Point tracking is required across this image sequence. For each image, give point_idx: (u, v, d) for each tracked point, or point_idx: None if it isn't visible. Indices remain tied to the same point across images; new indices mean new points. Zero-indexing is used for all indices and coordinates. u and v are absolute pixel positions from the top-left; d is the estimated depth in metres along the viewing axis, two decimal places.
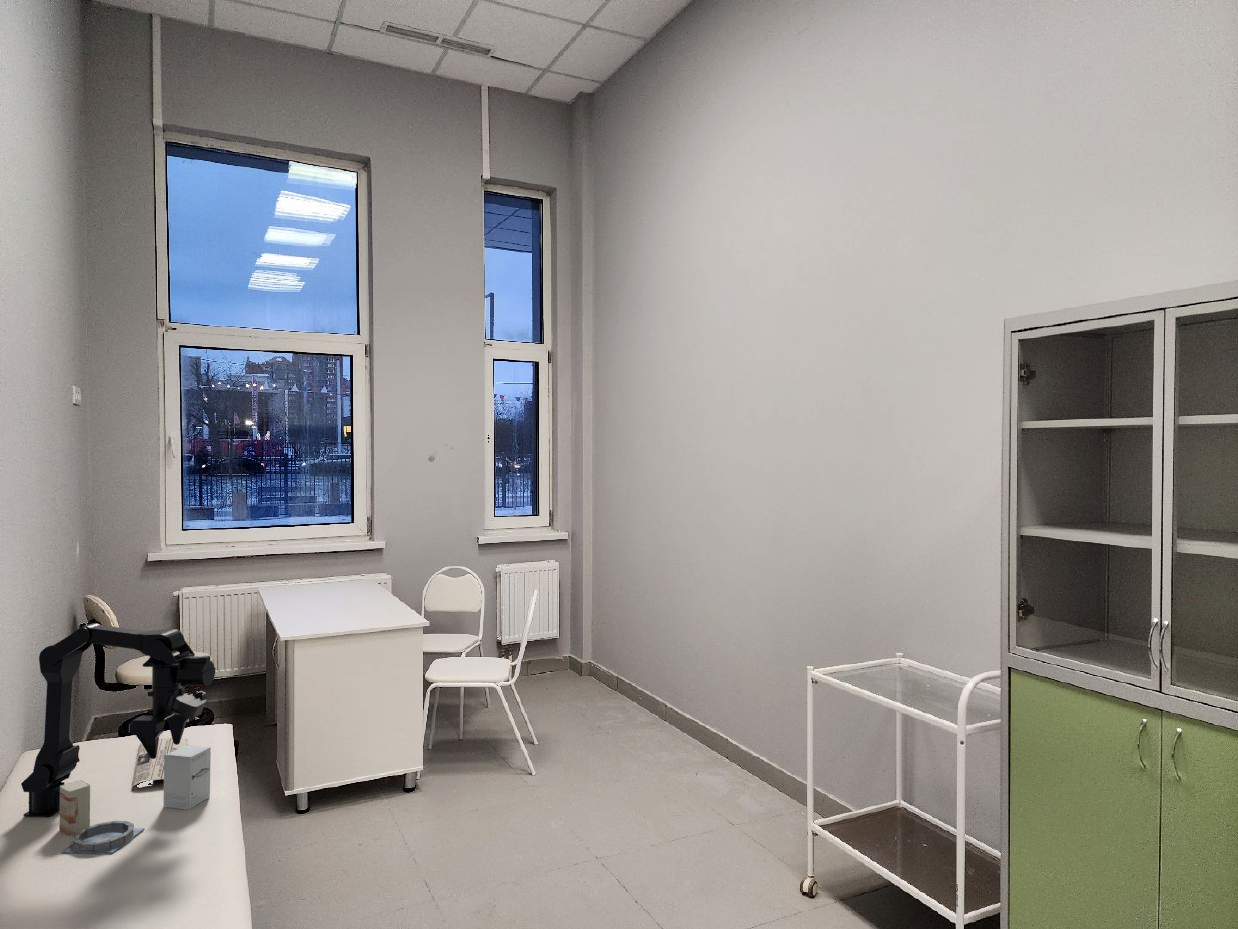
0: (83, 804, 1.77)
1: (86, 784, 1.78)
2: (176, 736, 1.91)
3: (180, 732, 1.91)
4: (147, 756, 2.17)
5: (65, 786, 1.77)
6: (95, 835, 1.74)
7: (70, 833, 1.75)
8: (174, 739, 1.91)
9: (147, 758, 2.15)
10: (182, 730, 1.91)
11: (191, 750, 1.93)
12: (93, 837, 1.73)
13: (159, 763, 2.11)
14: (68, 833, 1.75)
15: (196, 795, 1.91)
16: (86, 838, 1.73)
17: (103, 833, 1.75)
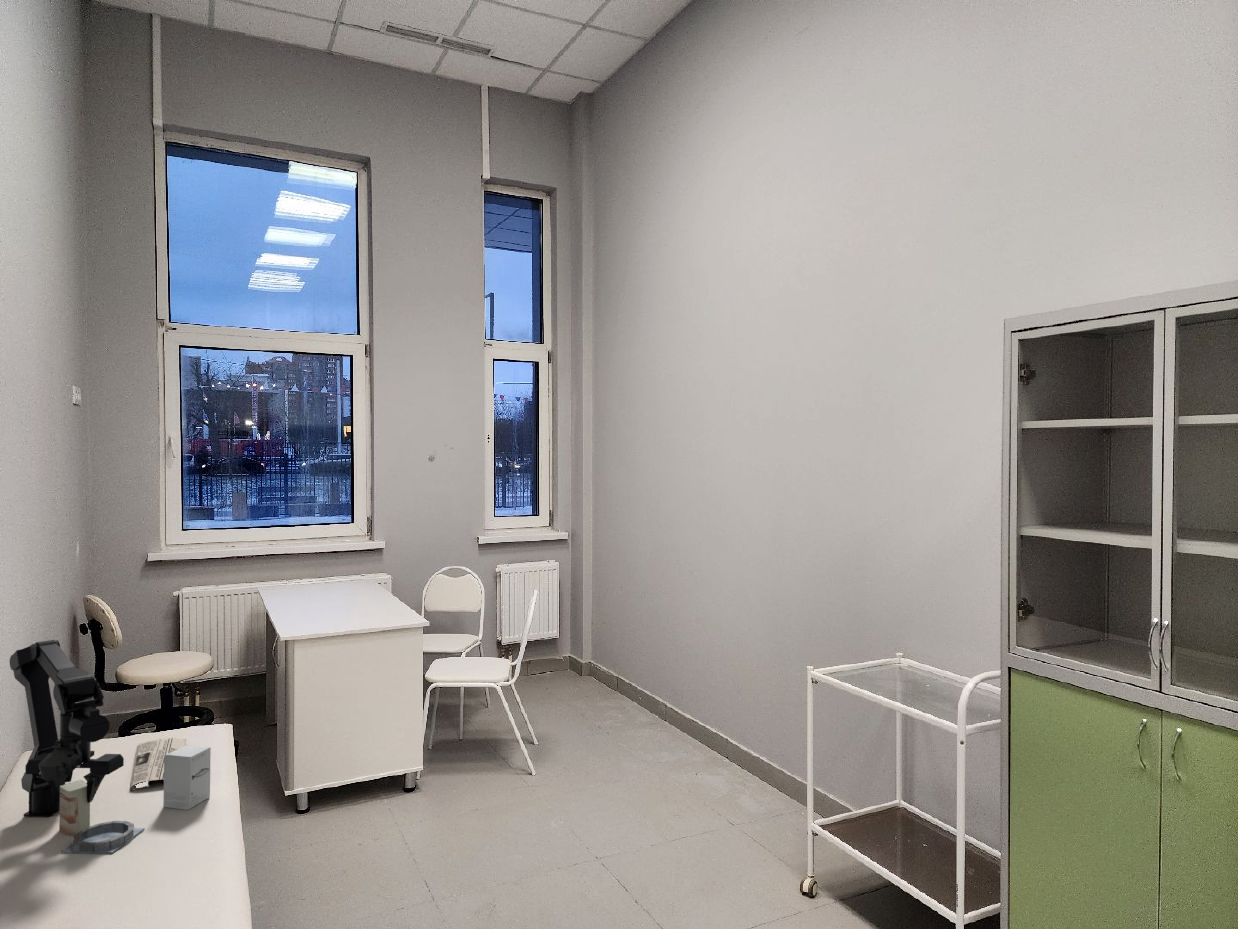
0: (83, 803, 1.77)
1: (86, 784, 1.78)
2: None
3: None
4: (145, 756, 2.17)
5: (65, 786, 1.77)
6: (95, 835, 1.74)
7: (70, 833, 1.75)
8: None
9: (145, 759, 2.15)
10: (88, 789, 1.76)
11: (191, 750, 1.93)
12: (93, 837, 1.73)
13: (157, 764, 2.11)
14: (68, 833, 1.75)
15: (196, 795, 1.90)
16: (86, 838, 1.73)
17: (103, 833, 1.75)
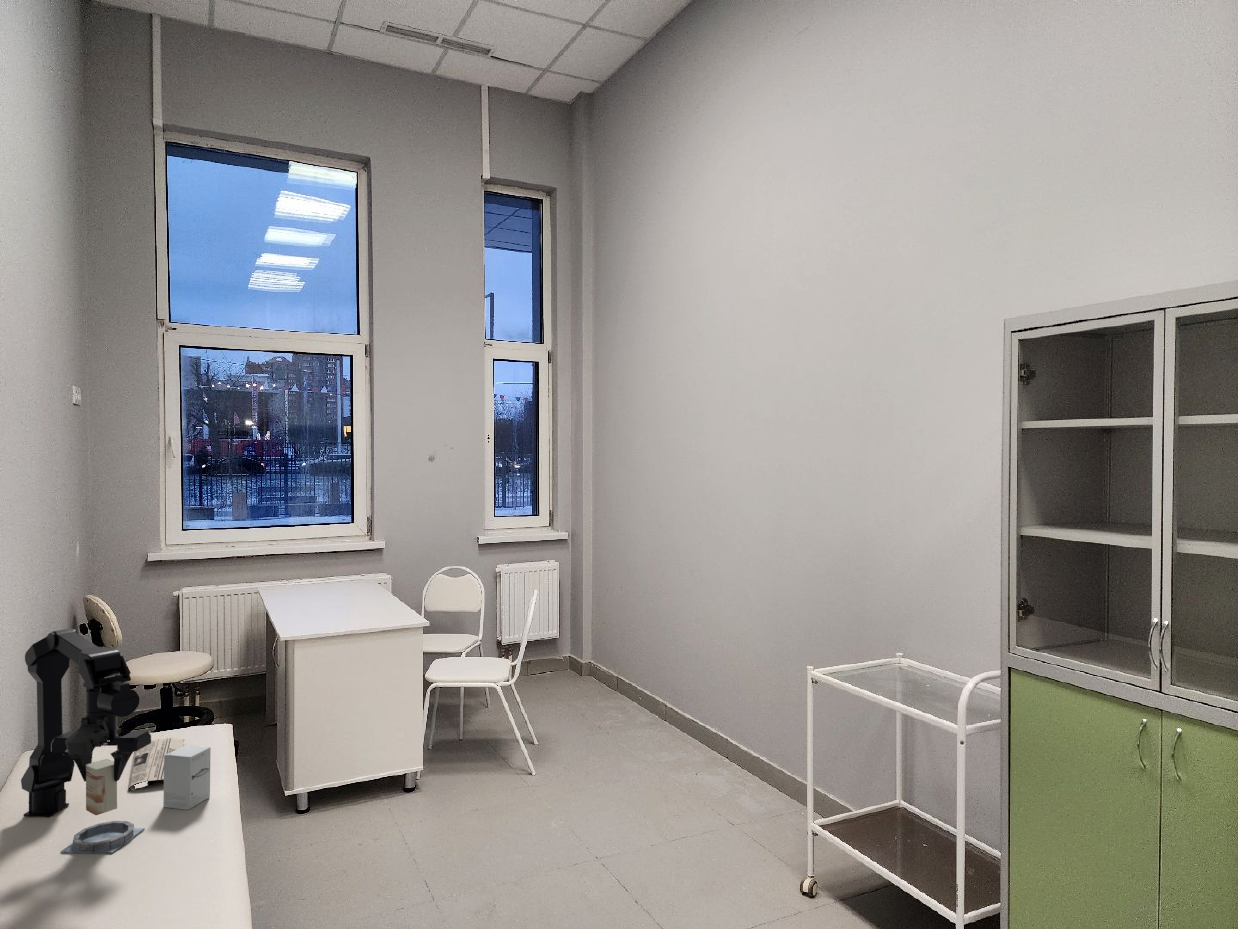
0: (110, 782, 1.72)
1: (113, 762, 1.74)
2: None
3: None
4: (143, 757, 2.16)
5: (91, 765, 1.72)
6: (95, 835, 1.74)
7: (97, 812, 1.70)
8: None
9: (143, 759, 2.15)
10: (115, 767, 1.72)
11: (191, 750, 1.93)
12: (93, 837, 1.73)
13: (155, 764, 2.11)
14: (95, 812, 1.70)
15: (196, 795, 1.90)
16: (86, 838, 1.73)
17: (103, 833, 1.75)
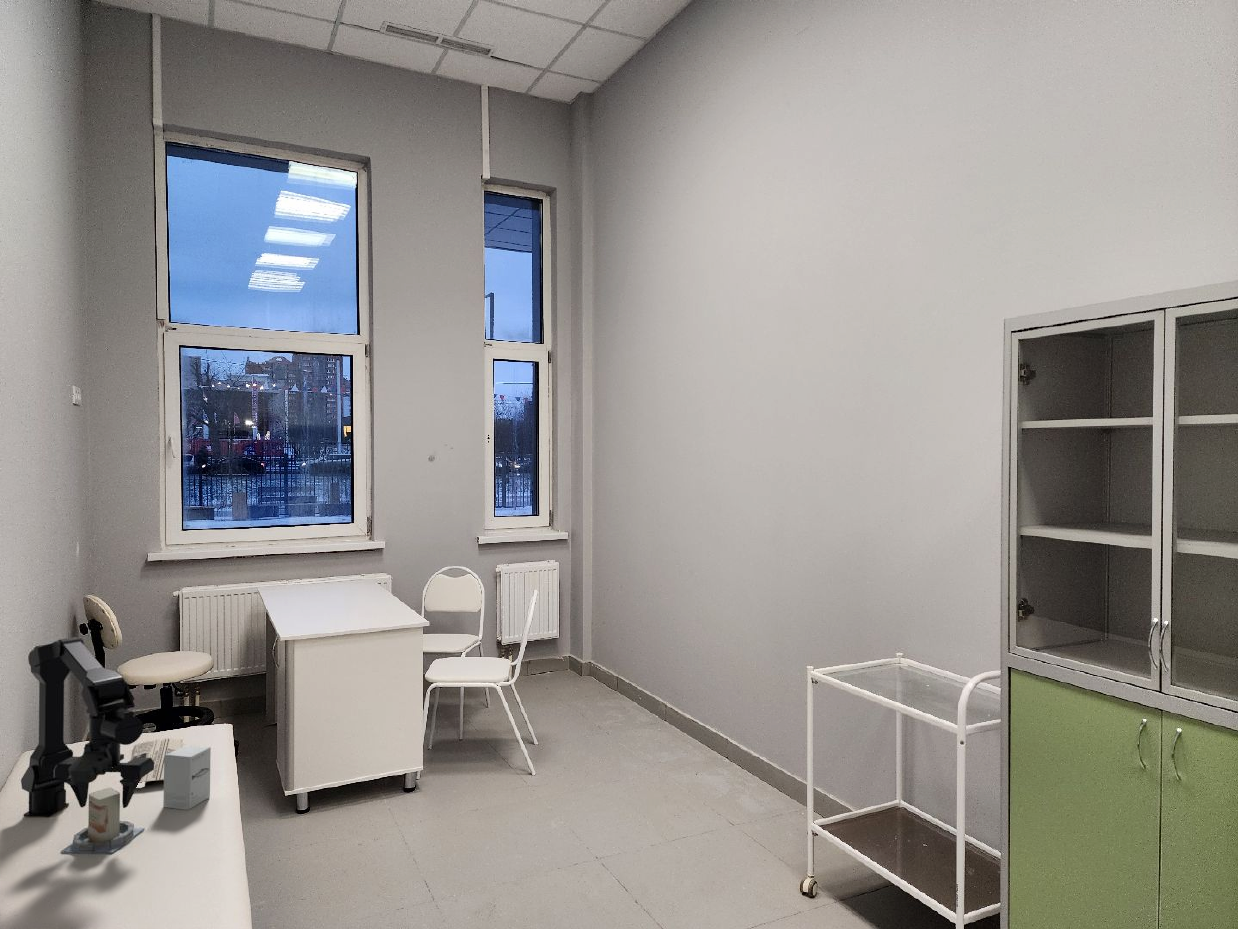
0: (113, 812, 1.72)
1: (116, 792, 1.73)
2: None
3: None
4: (142, 757, 2.16)
5: (94, 794, 1.72)
6: None
7: None
8: None
9: None
10: (124, 794, 1.71)
11: (191, 750, 1.93)
12: None
13: (154, 764, 2.11)
14: None
15: (196, 795, 1.91)
16: (86, 838, 1.73)
17: None
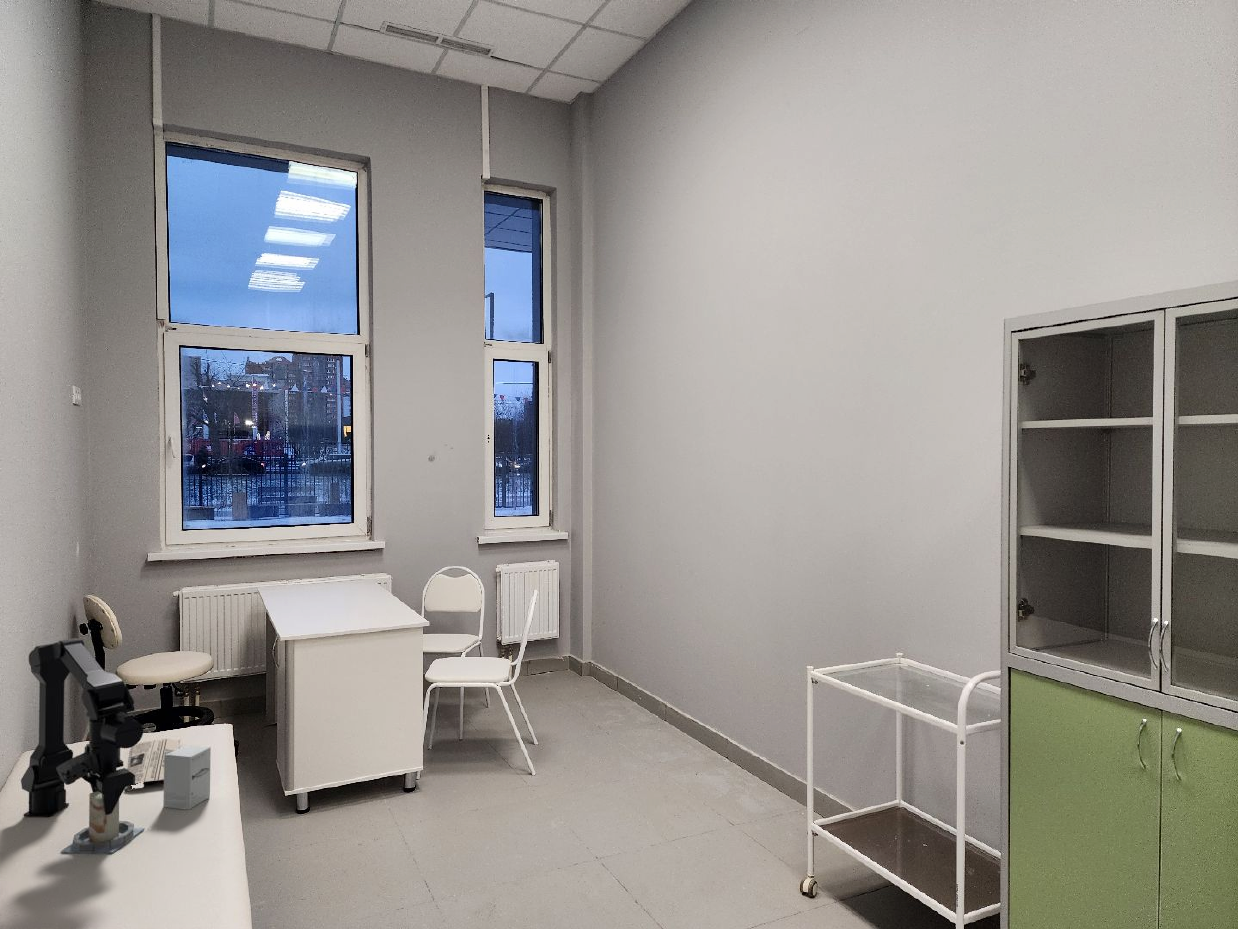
0: (112, 812, 1.71)
1: None
2: None
3: None
4: (140, 758, 2.16)
5: (94, 794, 1.72)
6: None
7: None
8: None
9: (139, 760, 2.14)
10: (103, 801, 1.70)
11: (191, 750, 1.93)
12: None
13: (152, 765, 2.10)
14: None
15: (196, 795, 1.90)
16: (86, 838, 1.73)
17: None
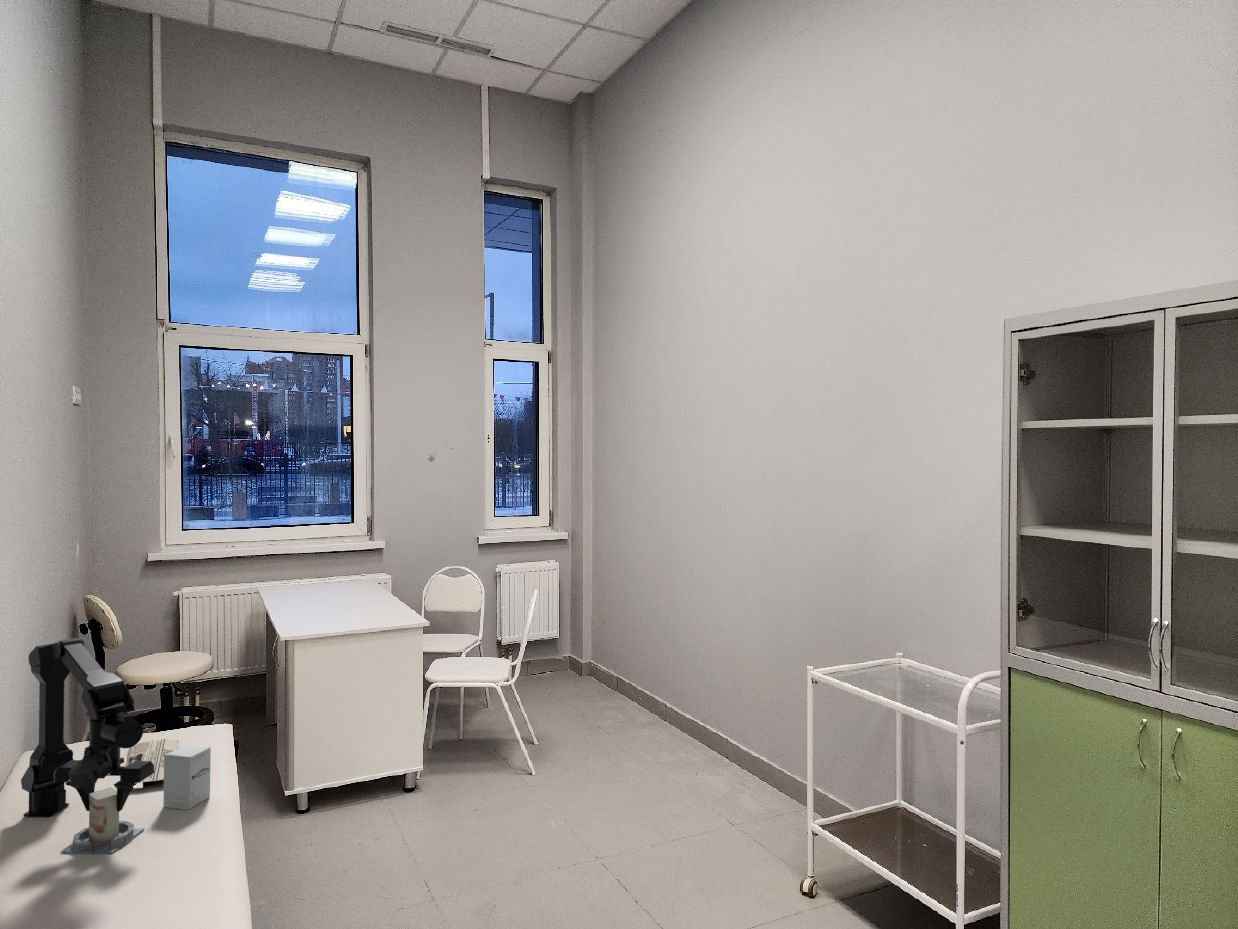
0: (112, 812, 1.71)
1: (115, 792, 1.73)
2: None
3: None
4: (138, 758, 2.16)
5: (94, 794, 1.72)
6: None
7: None
8: None
9: (138, 760, 2.14)
10: (118, 798, 1.71)
11: (191, 750, 1.93)
12: None
13: None
14: None
15: (196, 795, 1.91)
16: (86, 838, 1.73)
17: None
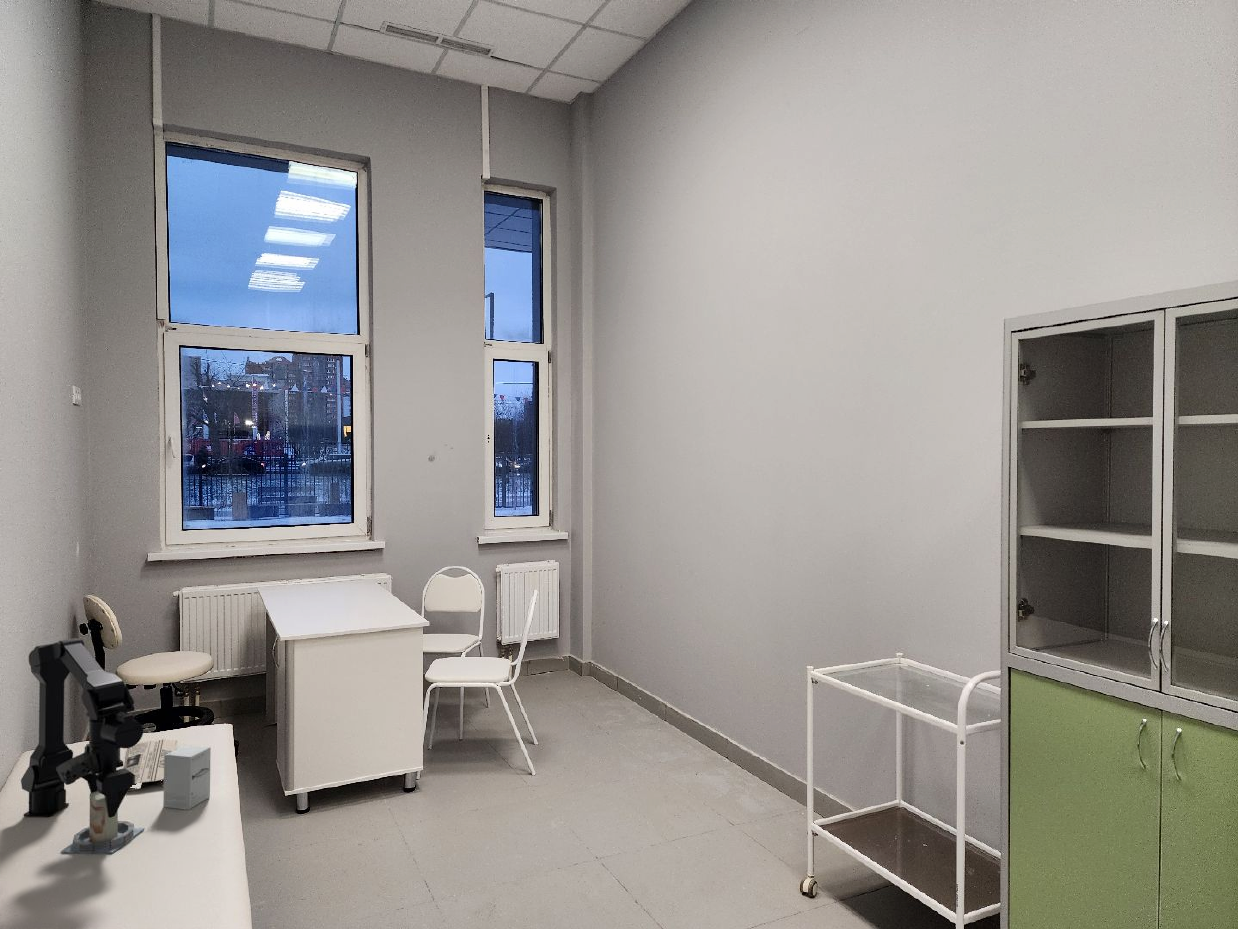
0: None
1: None
2: None
3: None
4: (136, 758, 2.15)
5: (94, 794, 1.72)
6: None
7: None
8: None
9: (136, 760, 2.14)
10: (106, 804, 1.68)
11: (191, 750, 1.93)
12: None
13: (148, 765, 2.10)
14: None
15: (196, 795, 1.90)
16: (86, 838, 1.73)
17: None
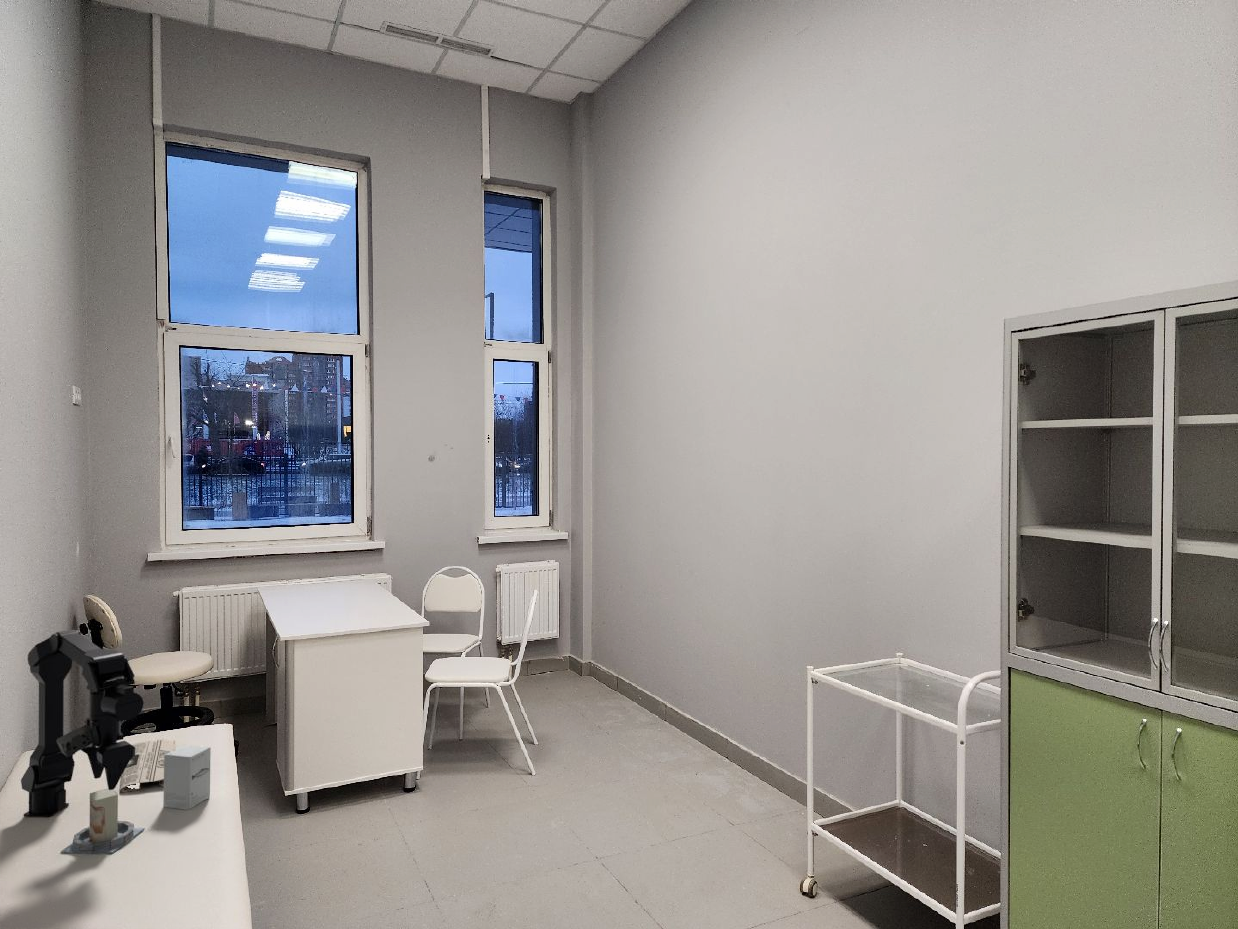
0: (110, 813, 1.71)
1: (114, 793, 1.73)
2: None
3: None
4: (134, 758, 2.15)
5: (94, 794, 1.72)
6: None
7: None
8: None
9: (134, 761, 2.14)
10: (106, 776, 1.68)
11: (191, 750, 1.93)
12: None
13: (147, 766, 2.10)
14: None
15: (196, 795, 1.90)
16: (86, 838, 1.73)
17: None
